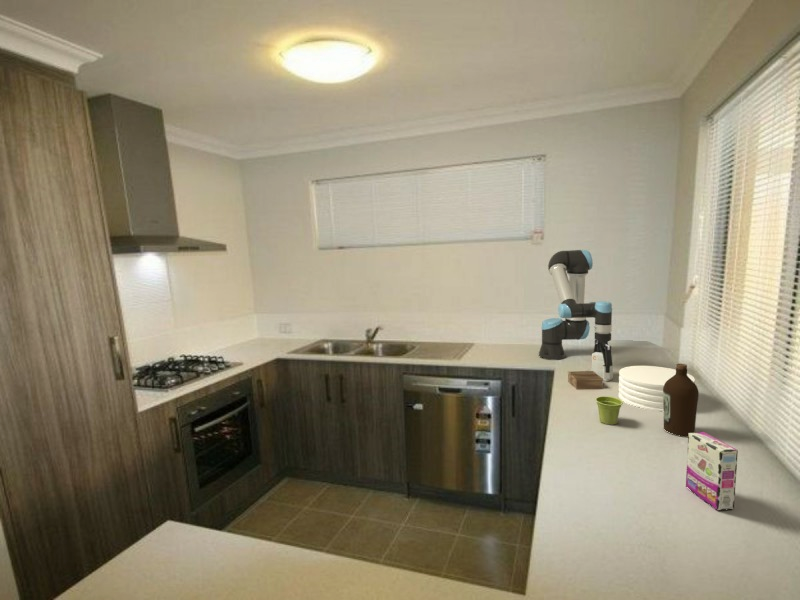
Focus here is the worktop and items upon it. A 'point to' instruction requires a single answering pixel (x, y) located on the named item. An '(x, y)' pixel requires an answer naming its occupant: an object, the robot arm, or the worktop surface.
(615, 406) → the plant pot
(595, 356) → the small box
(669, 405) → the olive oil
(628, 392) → the plate stack
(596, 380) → the block
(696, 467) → the candy bar box
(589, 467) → the worktop surface
